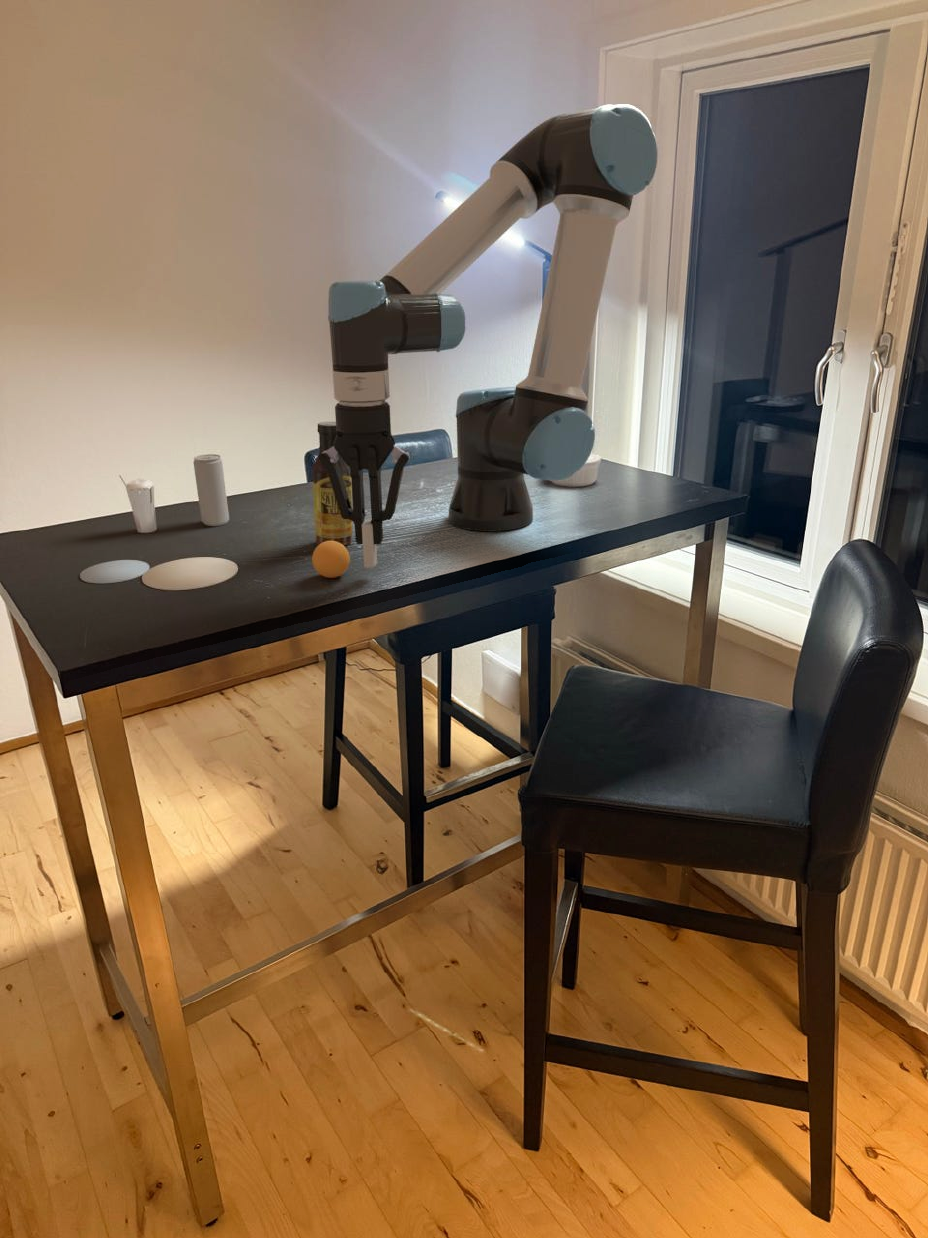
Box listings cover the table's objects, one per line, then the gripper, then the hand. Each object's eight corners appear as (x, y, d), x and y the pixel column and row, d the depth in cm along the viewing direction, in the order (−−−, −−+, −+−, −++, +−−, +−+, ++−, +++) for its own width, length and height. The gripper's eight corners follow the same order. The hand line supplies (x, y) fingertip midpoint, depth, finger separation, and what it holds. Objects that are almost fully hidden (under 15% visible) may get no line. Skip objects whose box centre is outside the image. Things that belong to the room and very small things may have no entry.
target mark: (254, 562, 134) (254, 560, 134) (206, 593, 122) (206, 592, 122) (176, 555, 138) (176, 554, 138) (122, 585, 125) (122, 584, 125)
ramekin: (541, 476, 183) (541, 452, 181) (592, 474, 184) (593, 450, 182) (551, 489, 173) (552, 464, 171) (605, 487, 174) (607, 461, 172)
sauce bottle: (322, 551, 139) (313, 428, 131) (310, 540, 144) (301, 421, 136) (360, 545, 141) (353, 424, 134) (347, 535, 146) (340, 418, 139)
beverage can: (222, 527, 152) (213, 460, 147) (197, 526, 153) (187, 459, 148) (234, 519, 156) (226, 454, 151) (209, 518, 157) (201, 453, 152)
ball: (356, 571, 130) (354, 537, 127) (342, 584, 125) (339, 548, 123) (323, 569, 131) (320, 534, 129) (307, 581, 126) (304, 545, 124)
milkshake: (132, 527, 153) (123, 472, 149) (163, 526, 153) (154, 471, 149) (125, 534, 148) (115, 478, 144) (157, 533, 149) (147, 477, 145)
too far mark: (162, 563, 134) (162, 562, 134) (123, 586, 125) (122, 584, 125) (108, 559, 137) (107, 557, 137) (65, 580, 128) (65, 579, 128)
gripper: (308, 405, 114) (321, 572, 123) (405, 406, 113) (411, 574, 122) (321, 397, 121) (332, 555, 130) (413, 397, 120) (417, 557, 129)
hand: (370, 564), depth 126 cm, fingers closed
